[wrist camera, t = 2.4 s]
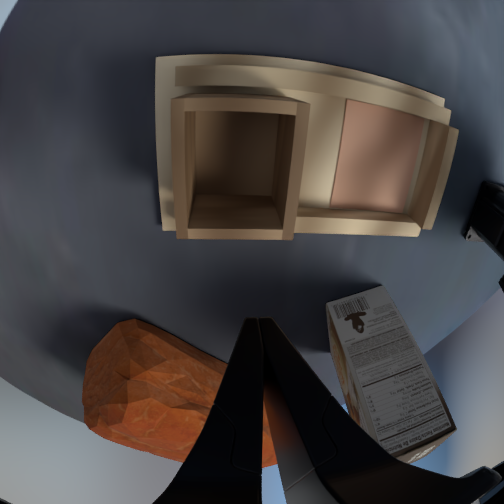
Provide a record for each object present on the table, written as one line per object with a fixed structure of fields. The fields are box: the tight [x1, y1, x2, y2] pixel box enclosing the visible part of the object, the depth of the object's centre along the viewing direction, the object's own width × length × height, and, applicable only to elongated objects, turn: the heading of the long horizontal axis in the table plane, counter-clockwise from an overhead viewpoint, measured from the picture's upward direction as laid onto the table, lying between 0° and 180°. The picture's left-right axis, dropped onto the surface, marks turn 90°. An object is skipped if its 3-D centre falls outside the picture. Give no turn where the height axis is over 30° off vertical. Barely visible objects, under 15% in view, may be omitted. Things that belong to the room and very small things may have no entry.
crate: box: [171, 93, 311, 240], centre depth 15 cm, size 6×7×5 cm
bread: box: [82, 319, 277, 468], centre depth 29 cm, size 16×27×11 cm, turn 43°
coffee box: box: [326, 286, 457, 464], centre depth 22 cm, size 9×6×16 cm
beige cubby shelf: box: [155, 54, 459, 237], centre depth 17 cm, size 20×12×3 cm, turn 87°
